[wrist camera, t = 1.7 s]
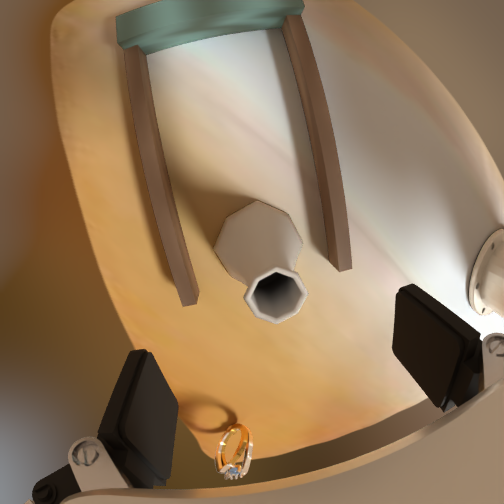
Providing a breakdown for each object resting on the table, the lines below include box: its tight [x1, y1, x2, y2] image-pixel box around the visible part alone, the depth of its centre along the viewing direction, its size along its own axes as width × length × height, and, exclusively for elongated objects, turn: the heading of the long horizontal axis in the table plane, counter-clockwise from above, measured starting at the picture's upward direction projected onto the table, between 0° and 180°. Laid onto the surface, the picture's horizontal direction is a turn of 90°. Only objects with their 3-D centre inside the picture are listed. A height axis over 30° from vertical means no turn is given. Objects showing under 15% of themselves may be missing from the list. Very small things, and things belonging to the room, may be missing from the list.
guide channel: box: [116, 0, 352, 307], centre depth 19 cm, size 14×25×4 cm, turn 12°
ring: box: [215, 424, 253, 479], centre depth 27 cm, size 7×3×8 cm, turn 142°
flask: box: [213, 200, 309, 324], centre depth 19 cm, size 7×7×10 cm
